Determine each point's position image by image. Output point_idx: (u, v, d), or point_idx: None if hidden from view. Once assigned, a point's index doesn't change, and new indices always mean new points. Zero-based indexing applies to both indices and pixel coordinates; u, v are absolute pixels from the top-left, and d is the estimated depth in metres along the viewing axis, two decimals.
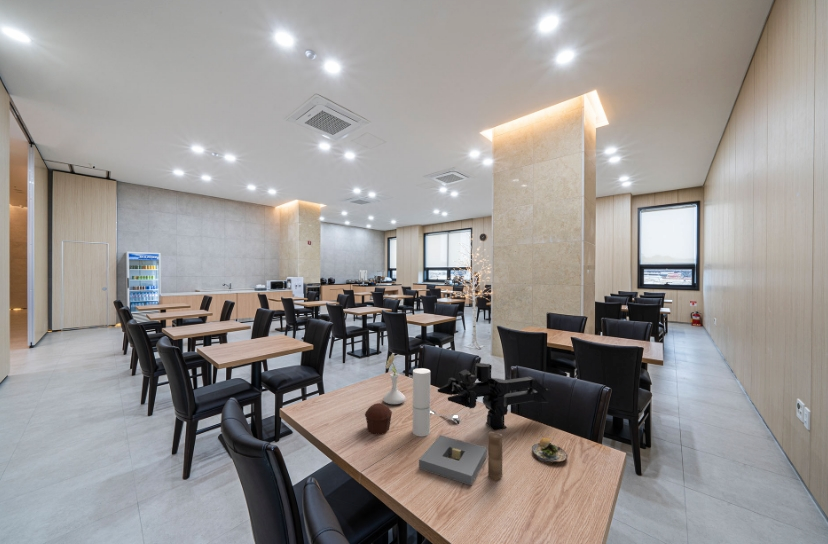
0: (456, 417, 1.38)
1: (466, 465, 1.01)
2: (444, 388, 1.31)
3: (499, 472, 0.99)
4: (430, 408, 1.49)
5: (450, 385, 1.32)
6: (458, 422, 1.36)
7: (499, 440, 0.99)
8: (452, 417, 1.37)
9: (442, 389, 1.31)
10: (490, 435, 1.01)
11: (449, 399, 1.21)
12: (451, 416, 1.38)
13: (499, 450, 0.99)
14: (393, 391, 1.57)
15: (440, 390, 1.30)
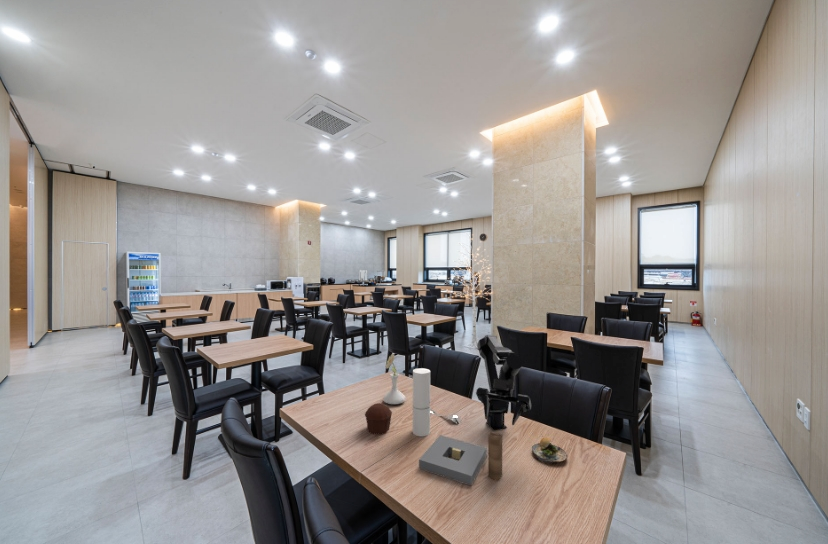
0: (456, 417, 1.38)
1: (466, 465, 1.01)
2: (487, 409, 1.13)
3: (499, 472, 0.99)
4: (430, 408, 1.49)
5: (487, 400, 1.14)
6: (457, 422, 1.36)
7: (499, 440, 0.99)
8: (452, 417, 1.37)
9: (487, 412, 1.12)
10: (490, 435, 1.01)
11: (514, 423, 1.07)
12: (451, 416, 1.38)
13: (499, 450, 0.99)
14: (393, 391, 1.57)
15: (487, 415, 1.12)
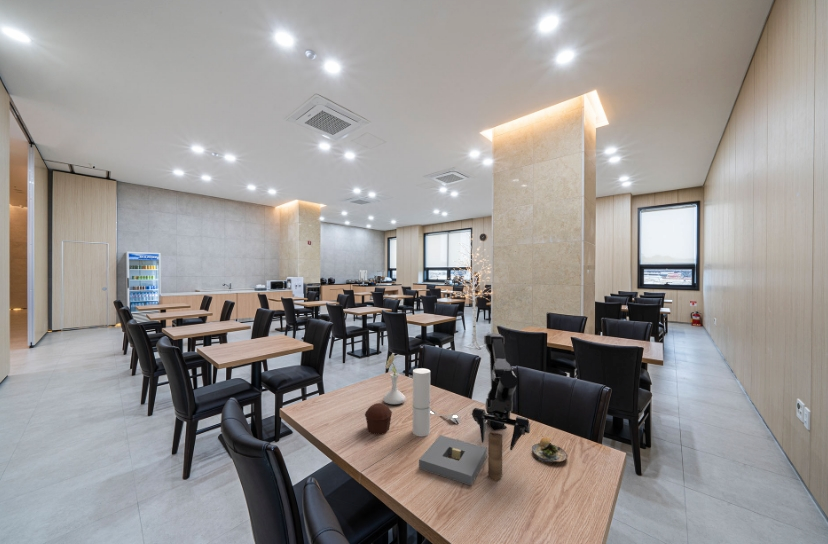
0: (455, 417, 1.38)
1: (466, 465, 1.01)
2: (483, 432, 1.06)
3: (499, 472, 0.99)
4: None
5: (483, 422, 1.08)
6: (457, 422, 1.36)
7: (499, 440, 0.99)
8: (451, 417, 1.37)
9: (483, 435, 1.06)
10: (490, 435, 1.01)
11: (512, 448, 1.01)
12: (450, 416, 1.38)
13: (499, 450, 0.99)
14: (393, 391, 1.57)
15: (483, 439, 1.05)
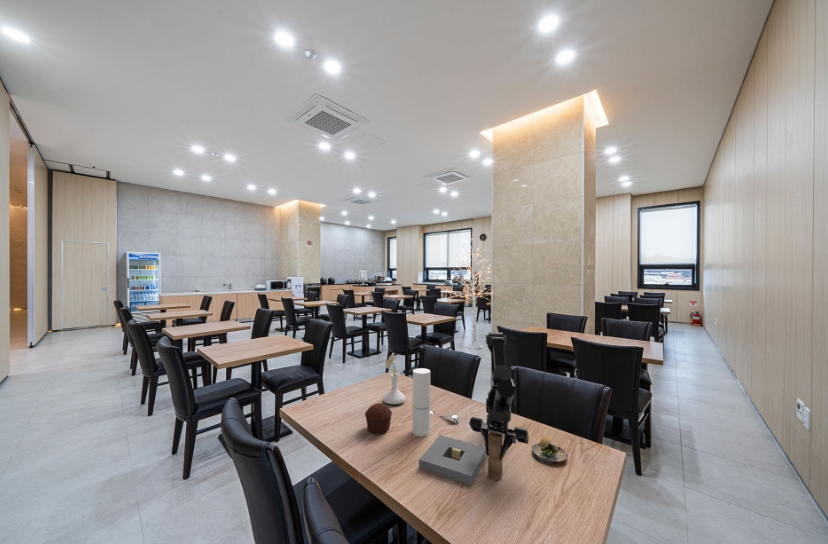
0: (455, 417, 1.38)
1: (466, 465, 1.01)
2: None
3: (499, 472, 0.99)
4: None
5: (488, 434, 1.04)
6: (457, 422, 1.36)
7: (499, 440, 0.99)
8: (451, 417, 1.37)
9: None
10: (490, 435, 1.01)
11: (502, 457, 0.99)
12: (450, 416, 1.38)
13: (499, 450, 0.99)
14: (393, 391, 1.57)
15: None
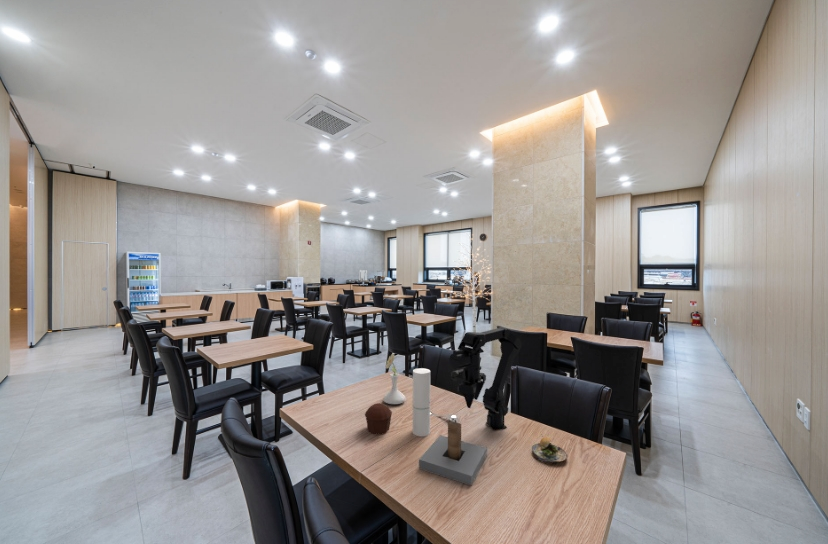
0: (454, 417, 1.38)
1: (466, 465, 1.01)
2: None
3: (457, 458, 1.06)
4: None
5: None
6: (456, 421, 1.37)
7: (457, 429, 1.06)
8: (450, 417, 1.38)
9: (475, 394, 1.30)
10: (449, 424, 1.08)
11: (469, 406, 1.21)
12: (449, 416, 1.38)
13: (457, 438, 1.06)
14: (393, 391, 1.57)
15: (475, 396, 1.30)
